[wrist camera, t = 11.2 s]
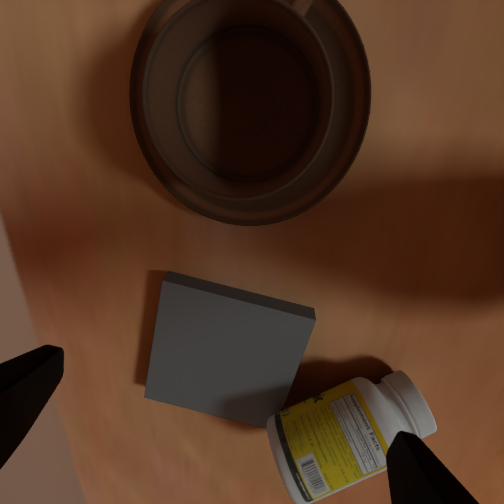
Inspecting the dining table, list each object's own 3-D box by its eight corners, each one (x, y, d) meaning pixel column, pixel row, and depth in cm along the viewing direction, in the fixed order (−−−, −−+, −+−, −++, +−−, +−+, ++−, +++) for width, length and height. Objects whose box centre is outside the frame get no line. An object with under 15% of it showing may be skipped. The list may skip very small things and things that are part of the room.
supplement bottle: (277, 429, 26) (393, 378, 25) (304, 513, 22) (442, 454, 21) (257, 406, 22) (393, 346, 22) (285, 503, 18) (452, 431, 18)
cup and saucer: (156, -49, 16) (85, -146, 10) (396, 8, 16) (461, -57, 10) (135, 192, 20) (77, 218, 15) (324, 236, 20) (340, 280, 15)
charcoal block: (313, 304, 23) (315, 320, 21) (275, 409, 26) (274, 430, 24) (172, 267, 23) (162, 280, 21) (153, 378, 26) (144, 397, 24)
